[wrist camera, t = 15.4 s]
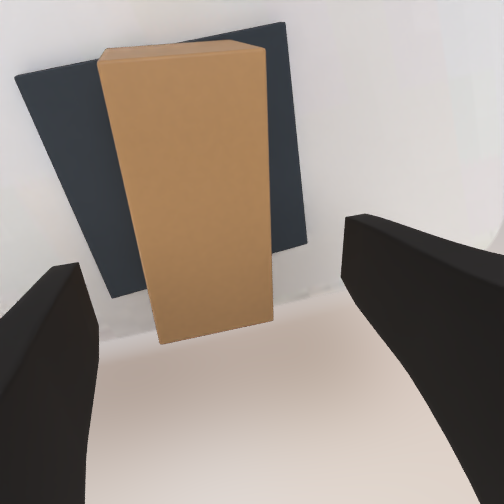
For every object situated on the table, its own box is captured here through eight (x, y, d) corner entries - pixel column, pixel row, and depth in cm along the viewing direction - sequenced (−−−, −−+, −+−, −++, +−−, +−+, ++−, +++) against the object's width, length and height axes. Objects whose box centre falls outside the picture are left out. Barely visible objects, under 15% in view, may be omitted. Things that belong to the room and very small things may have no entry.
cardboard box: (246, 263, 20) (274, 321, 17) (153, 280, 20) (160, 346, 16) (231, 39, 15) (266, 47, 11) (104, 48, 14) (95, 60, 10)
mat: (112, 293, 20) (111, 299, 19) (16, 75, 14) (13, 76, 14) (304, 239, 21) (307, 243, 21) (281, 21, 16) (285, 21, 15)
